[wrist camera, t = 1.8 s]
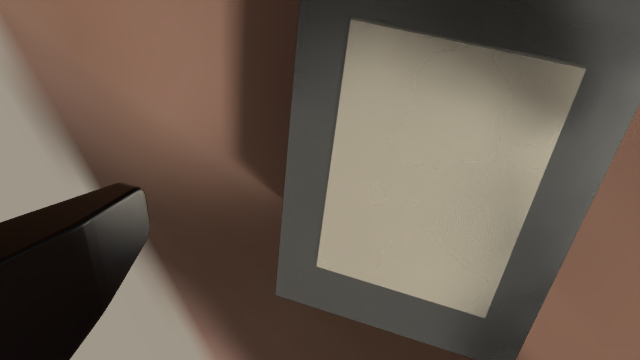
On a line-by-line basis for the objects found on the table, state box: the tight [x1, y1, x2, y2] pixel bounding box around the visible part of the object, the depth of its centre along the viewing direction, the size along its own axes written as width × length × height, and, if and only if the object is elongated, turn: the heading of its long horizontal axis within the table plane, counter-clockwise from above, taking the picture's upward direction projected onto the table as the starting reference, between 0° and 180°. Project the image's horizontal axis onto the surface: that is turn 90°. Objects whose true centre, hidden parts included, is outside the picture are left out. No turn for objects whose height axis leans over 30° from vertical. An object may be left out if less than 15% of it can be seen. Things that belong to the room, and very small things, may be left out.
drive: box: [275, 0, 640, 360], centre depth 12 cm, size 10×6×4 cm, turn 173°
